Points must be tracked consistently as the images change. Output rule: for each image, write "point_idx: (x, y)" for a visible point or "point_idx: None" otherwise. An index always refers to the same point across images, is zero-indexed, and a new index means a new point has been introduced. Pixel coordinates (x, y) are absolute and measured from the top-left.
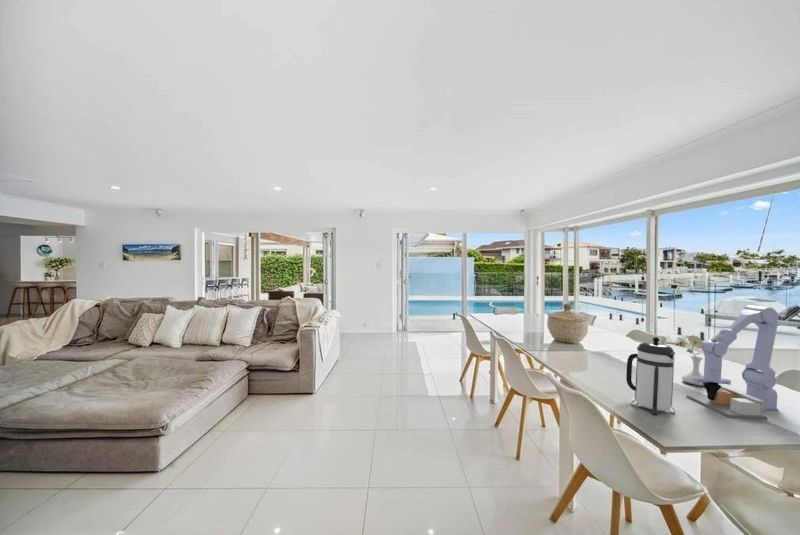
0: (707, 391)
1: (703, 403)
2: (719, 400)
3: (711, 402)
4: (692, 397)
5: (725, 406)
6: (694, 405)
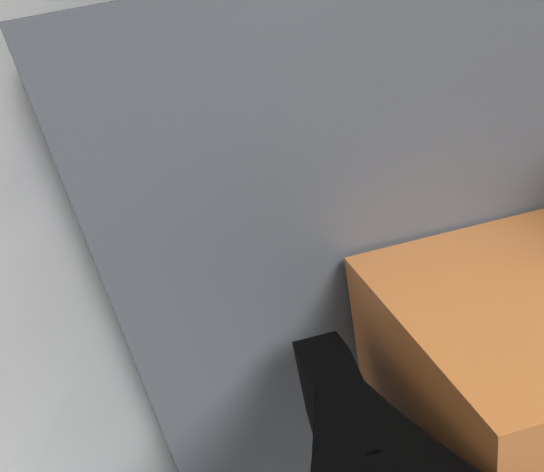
0: (322, 468)
1: (163, 418)
2: None
3: None
4: (78, 191)
5: None
6: (22, 460)
